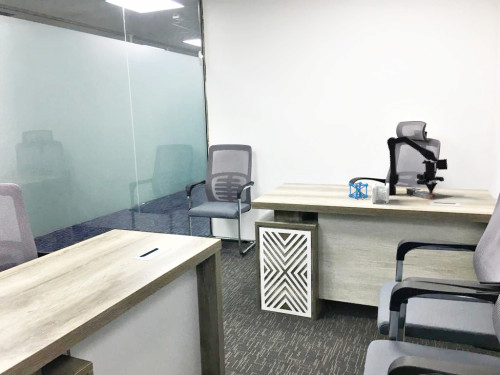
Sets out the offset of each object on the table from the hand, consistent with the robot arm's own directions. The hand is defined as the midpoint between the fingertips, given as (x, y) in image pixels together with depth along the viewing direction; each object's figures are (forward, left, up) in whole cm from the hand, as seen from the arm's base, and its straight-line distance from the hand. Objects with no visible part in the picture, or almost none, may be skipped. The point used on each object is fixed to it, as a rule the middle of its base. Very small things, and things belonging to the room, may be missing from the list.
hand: (430, 193), depth 268 cm
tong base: (-4, +4, -2) cm, 6 cm away
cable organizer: (-36, +7, -3) cm, 37 cm away
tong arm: (-2, +2, -2) cm, 3 cm away
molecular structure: (-38, +26, -3) cm, 47 cm away
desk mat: (+2, +4, -3) cm, 5 cm away
